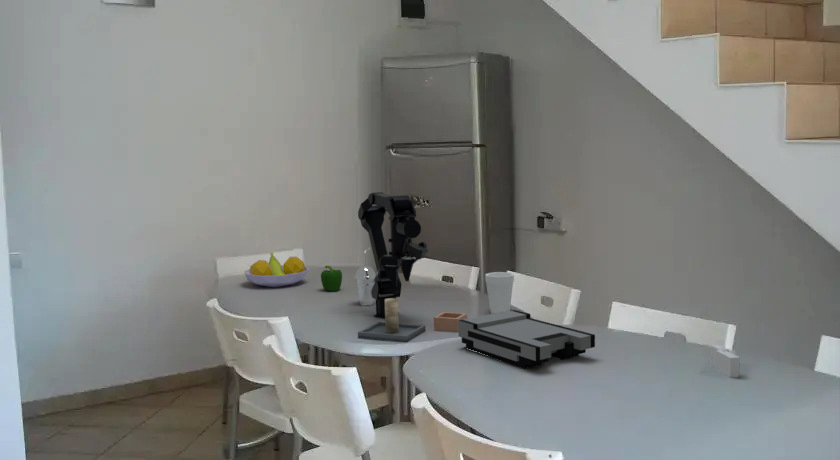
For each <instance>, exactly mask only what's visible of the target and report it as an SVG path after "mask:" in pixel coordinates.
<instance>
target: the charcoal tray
mask: <svg viewBox="0 0 840 460" xmlns="http://www.w3.org/2000/svg"><path fill="white" fill-rule="evenodd" d="M425 332H426V325H425V324H424V325H423V324H411V323H400V322H399V332H398V333H394V334H389V333H386V328H385V322H383V321H377V322H375V323H374V324H371V325H369V326H367V327H365V328H363V329H362V330H359V331H358V332H357V339H361V340H362V339H365V340H374V341H375V340H376V341H377V340H378V341H386V342H400V343H408V342H410V341H411V340H413V339H415V338H417V337H418V336H420V335H421V334H423V333H425Z"/></svg>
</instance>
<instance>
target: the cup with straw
mask: <svg viewBox="0 0 840 460" xmlns="http://www.w3.org/2000/svg"><path fill="white" fill-rule="evenodd" d="M370 250H371V247H370V246H369V247H368V248H367V249H365V251H364V253H363V263H364V265H362V266H360V267H359V268H358V269H357V270H356V271H355V274H354V275H353V279H354V280H355V281H356V282H355V283H356V286H357V291H358V292H357V293H358V300H359V304H360V305H361V306H371V305H372V306H373V304H374V303H373V302H374V298H372V295H371V290H372V288H373V285H374V283H375V282H374V279H375V276H376V273H375V270H374V268H372V267H371V266H369V265H367V252H368V251H370Z"/></svg>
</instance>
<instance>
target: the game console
mask: <svg viewBox="0 0 840 460" xmlns="http://www.w3.org/2000/svg"><path fill="white" fill-rule="evenodd" d="M457 333H458V337H459V338H461V343H462V344H465V349H466V348H468V349H471V350H474V351H477V352H480V353H482V354H485V355H488V356H490V357H489V358H491V357H492V358H491V359H494V358H495V360H496V359H498V360H497V361H499V360H501V361H500V362H502V361H503V362H502V363H505V362H506V364H509V365H511V366H515V367H518V368H521V369H524V370H526V369H527V370H528V369H530V368H534V367H535V368H536V367H538V366H539V367H540V366H542V365H543V364H544V363H548V362H549V361H550V358H553V359H557V360H561V361H563V360H569V359H572V358H573V359H574V358H577V357H579V356H580V354H585V353H586V350H589V349H592V348H596V335H595V334H594V333H590V332H586V331H582V330H578V329H575V328H570V327H566V326H563V325H562V326H561V325H559V324H554V323H550V322H547V321H543V320H540V319H535V318H533V317H531V313H528V312H524V311H520V310H515V309H514V310H510V311H507V312H501V313H496V314H491V313H490V314H486V315H481V316H476V317H470V318H467V319H463V320H458V332H457ZM482 354H481V355H482ZM485 355H484V356H485ZM488 356H487V357H488Z"/></svg>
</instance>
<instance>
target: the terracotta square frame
mask: <svg viewBox="0 0 840 460" xmlns="http://www.w3.org/2000/svg"><path fill="white" fill-rule="evenodd" d="M463 319H468V313H466V312H465V313H464V312H462V313H461V312H447V311H442V312H440V313H439V314H437V315H436V316H435V315H434V316H433V330H434V331H440V332H443V331H444V332H453V333H458V320H463Z"/></svg>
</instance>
